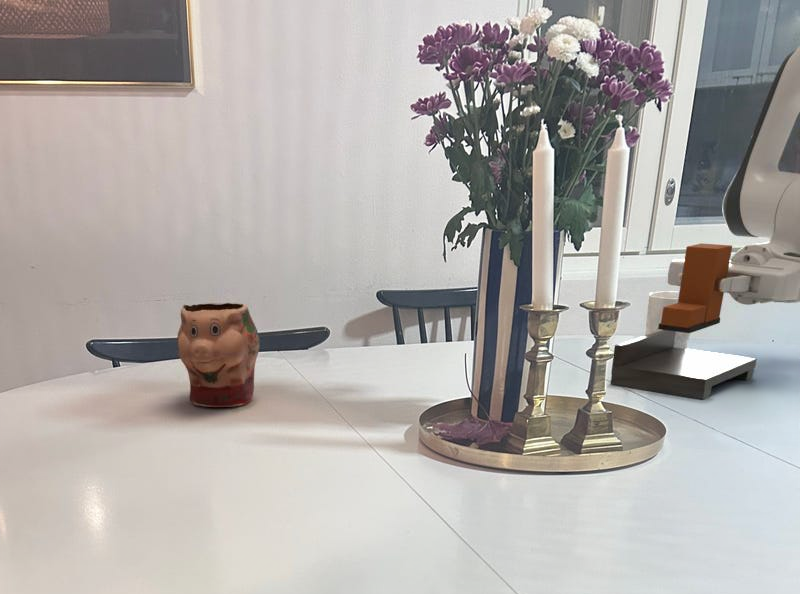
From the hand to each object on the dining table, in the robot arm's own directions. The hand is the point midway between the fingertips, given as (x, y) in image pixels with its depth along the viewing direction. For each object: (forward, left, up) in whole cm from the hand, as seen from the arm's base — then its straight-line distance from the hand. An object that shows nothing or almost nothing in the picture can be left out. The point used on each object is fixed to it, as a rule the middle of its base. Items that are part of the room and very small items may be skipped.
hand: (699, 282), depth 139 cm
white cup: (+12, -17, -15) cm, 25 cm away
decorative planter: (+49, +53, -15) cm, 74 cm away
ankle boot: (0, +2, -6) cm, 6 cm away
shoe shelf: (+1, -1, -15) cm, 15 cm away
